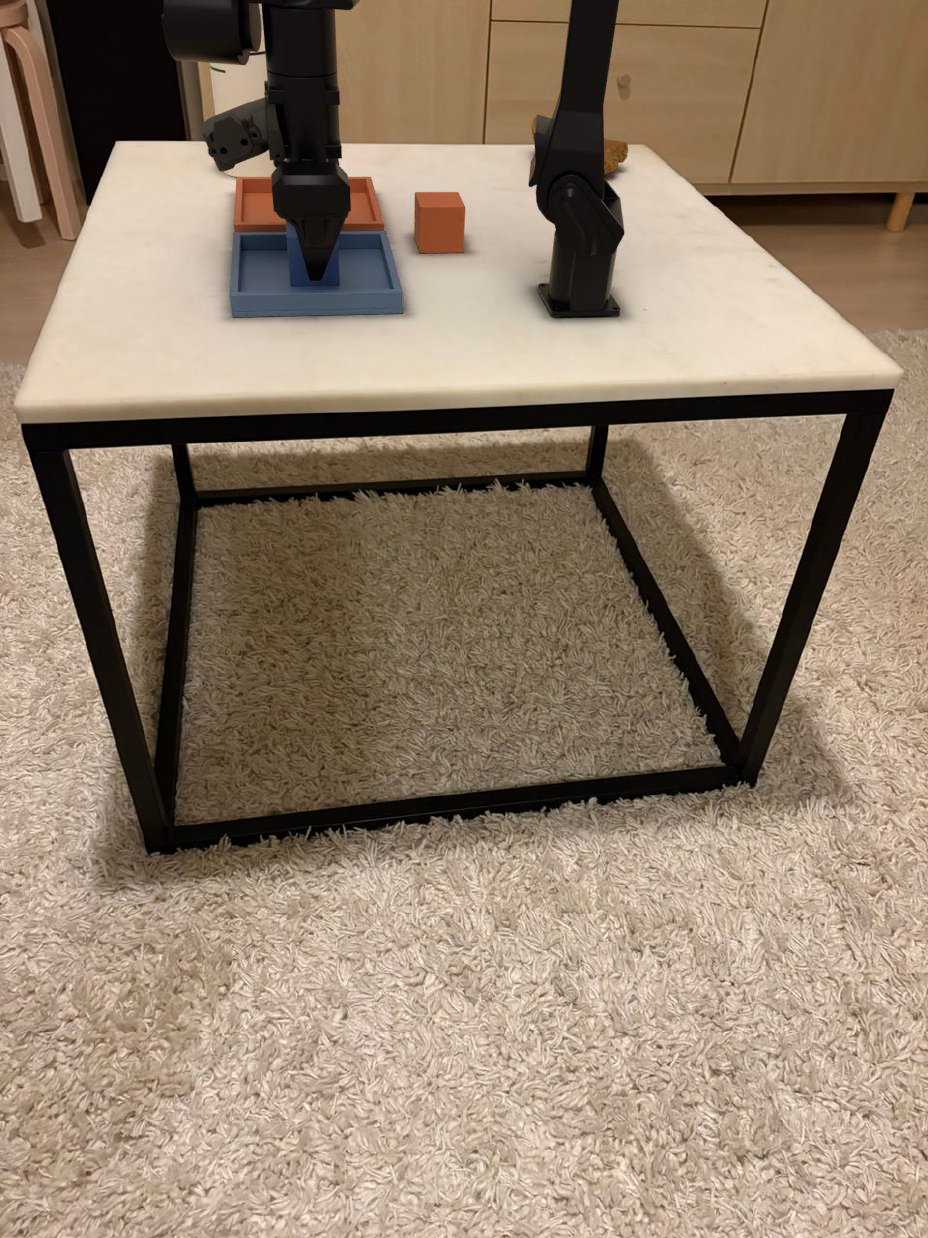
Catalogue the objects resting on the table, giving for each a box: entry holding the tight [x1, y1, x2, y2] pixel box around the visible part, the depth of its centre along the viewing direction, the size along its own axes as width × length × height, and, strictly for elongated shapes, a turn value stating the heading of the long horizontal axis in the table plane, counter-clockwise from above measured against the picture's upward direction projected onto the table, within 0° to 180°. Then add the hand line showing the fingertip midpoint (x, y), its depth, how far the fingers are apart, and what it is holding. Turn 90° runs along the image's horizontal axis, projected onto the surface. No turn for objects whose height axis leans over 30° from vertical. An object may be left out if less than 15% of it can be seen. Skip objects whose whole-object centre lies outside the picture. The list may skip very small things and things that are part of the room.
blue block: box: [286, 221, 340, 286], centre depth 86 cm, size 4×4×4 cm
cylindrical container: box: [208, 4, 276, 178], centre depth 104 cm, size 7×7×25 cm
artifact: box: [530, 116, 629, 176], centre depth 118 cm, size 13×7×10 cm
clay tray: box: [233, 176, 385, 233], centre depth 100 cm, size 15×15×2 cm
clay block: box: [413, 191, 466, 254], centre depth 95 cm, size 4×4×4 cm
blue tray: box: [229, 230, 404, 318], centre depth 88 cm, size 15×15×2 cm
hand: (313, 260), depth 87 cm, fingers open, 9 cm apart
